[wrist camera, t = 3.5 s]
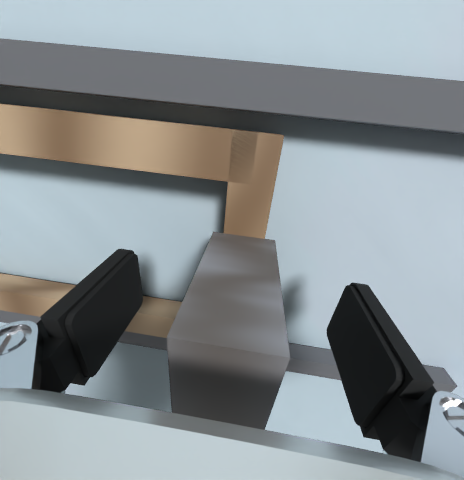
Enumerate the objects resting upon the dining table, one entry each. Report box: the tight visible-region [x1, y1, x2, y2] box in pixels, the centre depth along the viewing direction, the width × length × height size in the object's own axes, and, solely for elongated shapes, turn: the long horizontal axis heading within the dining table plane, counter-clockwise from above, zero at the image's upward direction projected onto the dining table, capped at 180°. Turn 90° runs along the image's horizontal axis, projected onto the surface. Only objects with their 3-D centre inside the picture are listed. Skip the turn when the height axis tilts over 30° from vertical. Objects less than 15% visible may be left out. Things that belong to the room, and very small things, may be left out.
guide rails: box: [0, 39, 464, 393], centre depth 13 cm, size 46×18×1 cm, turn 84°
